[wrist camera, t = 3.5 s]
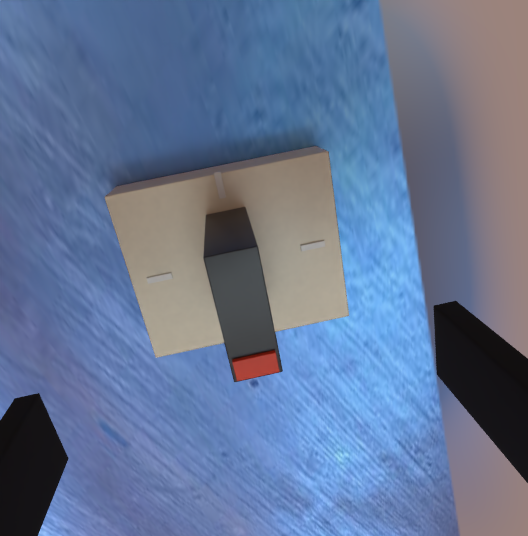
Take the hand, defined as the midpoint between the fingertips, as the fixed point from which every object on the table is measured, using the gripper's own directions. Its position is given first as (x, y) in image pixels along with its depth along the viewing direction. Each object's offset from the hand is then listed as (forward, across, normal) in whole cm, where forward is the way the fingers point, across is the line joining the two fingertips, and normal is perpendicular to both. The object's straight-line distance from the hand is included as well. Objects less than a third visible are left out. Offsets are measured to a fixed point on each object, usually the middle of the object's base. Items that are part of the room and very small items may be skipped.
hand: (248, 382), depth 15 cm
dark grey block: (+11, 0, 0) cm, 11 cm away
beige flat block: (+14, 0, 0) cm, 14 cm away
